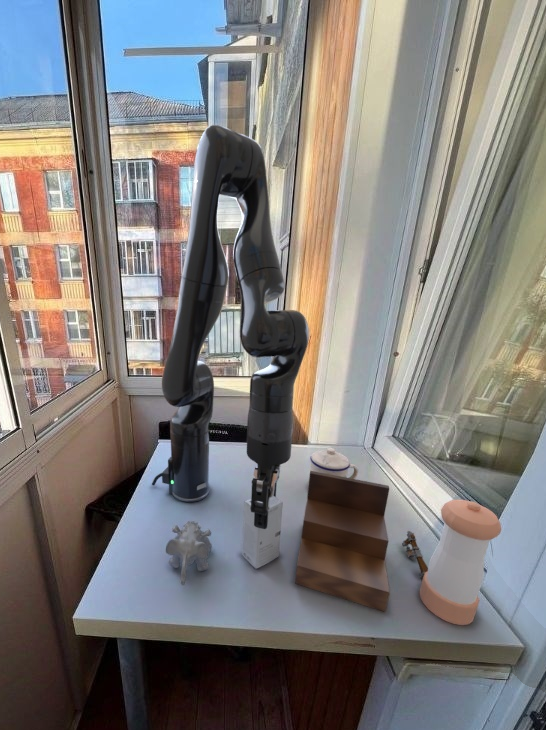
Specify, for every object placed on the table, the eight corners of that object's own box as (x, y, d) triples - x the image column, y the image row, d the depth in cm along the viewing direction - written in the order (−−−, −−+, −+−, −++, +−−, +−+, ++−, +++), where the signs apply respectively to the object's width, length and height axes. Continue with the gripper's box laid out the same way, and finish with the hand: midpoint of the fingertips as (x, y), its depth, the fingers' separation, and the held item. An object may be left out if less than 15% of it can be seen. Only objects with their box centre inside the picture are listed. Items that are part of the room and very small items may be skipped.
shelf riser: (295, 583, 58) (302, 515, 54) (304, 528, 71) (310, 470, 67) (385, 612, 53) (401, 539, 49) (377, 546, 66) (388, 485, 62)
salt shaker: (431, 577, 59) (455, 483, 53) (481, 609, 53) (515, 507, 47) (411, 598, 55) (434, 499, 49) (463, 634, 49) (496, 527, 44)
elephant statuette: (208, 541, 67) (208, 509, 65) (224, 592, 56) (225, 555, 54) (162, 548, 66) (161, 516, 63) (170, 602, 54) (168, 565, 52)
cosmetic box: (256, 570, 60) (259, 514, 57) (240, 554, 64) (242, 501, 60) (280, 556, 64) (284, 502, 60) (263, 541, 67) (267, 490, 64)
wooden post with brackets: (406, 539, 66) (415, 528, 63) (424, 583, 60) (435, 573, 57) (396, 539, 67) (405, 528, 64) (414, 583, 61) (424, 573, 58)
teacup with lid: (314, 502, 80) (319, 458, 76) (302, 480, 88) (306, 441, 85) (363, 500, 80) (371, 457, 77) (346, 479, 89) (352, 440, 85)
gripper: (256, 414, 64) (254, 487, 69) (236, 445, 51) (235, 532, 56) (296, 419, 61) (291, 494, 66) (286, 453, 49) (280, 544, 53)
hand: (265, 512), depth 61 cm, fingers open, 8 cm apart
